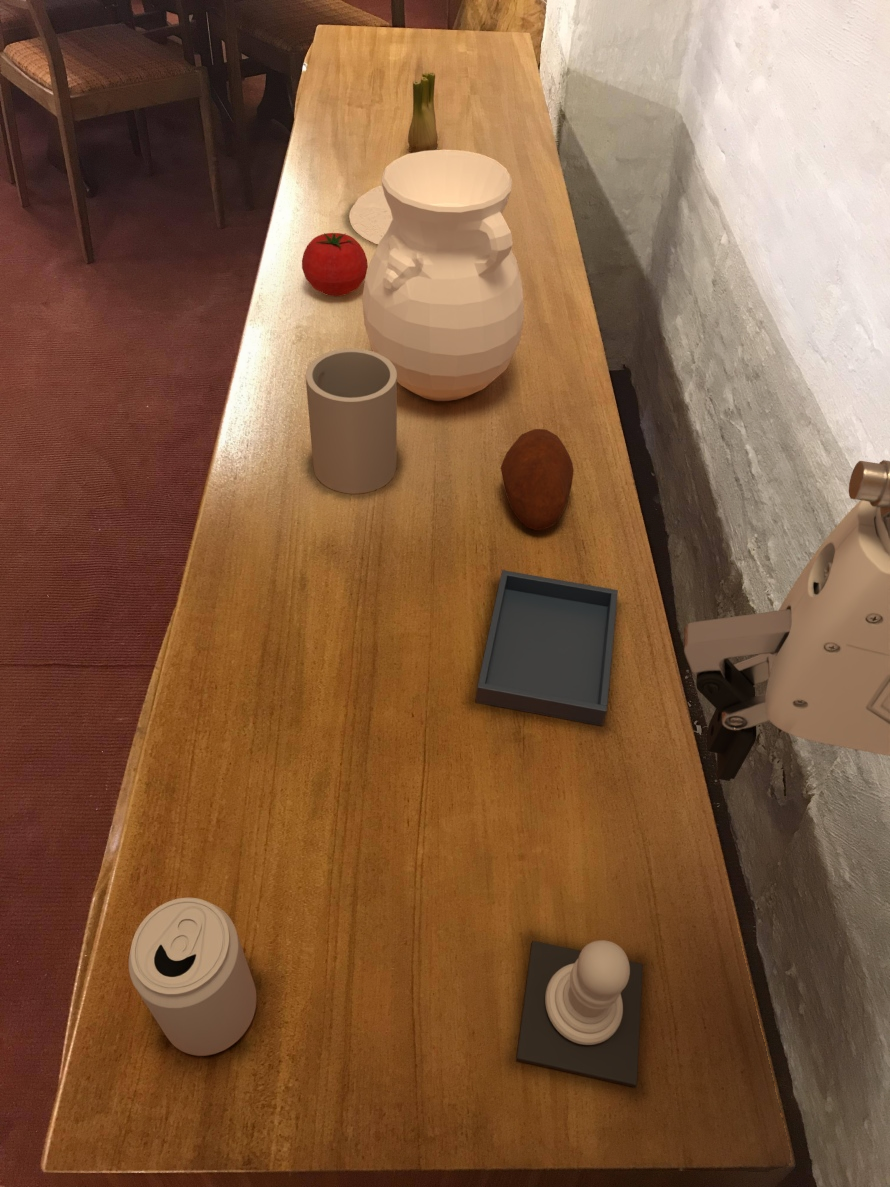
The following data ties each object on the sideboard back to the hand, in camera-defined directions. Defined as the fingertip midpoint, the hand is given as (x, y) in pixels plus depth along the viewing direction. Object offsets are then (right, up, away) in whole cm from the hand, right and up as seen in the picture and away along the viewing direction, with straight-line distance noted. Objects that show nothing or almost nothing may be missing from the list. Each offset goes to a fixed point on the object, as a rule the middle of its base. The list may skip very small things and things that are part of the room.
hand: (825, 773), depth 43 cm
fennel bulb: (-22, +84, +111) cm, 141 cm away
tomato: (-33, +50, +80) cm, 101 cm away
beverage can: (-34, -20, +19) cm, 44 cm away
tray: (-9, +3, +40) cm, 41 cm away
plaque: (-23, +66, +95) cm, 118 cm away
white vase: (-19, +35, +68) cm, 78 cm away
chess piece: (-9, -20, +19) cm, 29 cm away
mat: (-9, -20, +19) cm, 29 cm away
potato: (-9, +18, +54) cm, 58 cm away
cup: (-28, +23, +56) cm, 67 cm away
